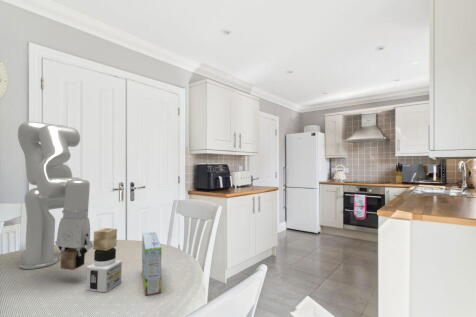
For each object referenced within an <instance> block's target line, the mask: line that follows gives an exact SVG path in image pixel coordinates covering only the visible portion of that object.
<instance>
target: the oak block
mask: <svg viewBox="0 0 476 317" xmlns="http://www.w3.org/2000/svg"><path fill="white" fill-rule="evenodd" d="M117 235H118V229H117V228H106V227H104V228H101V229H97V230H94V231H93V244H92V245H93V247H92V248H93V251H95V250H105V251H107V250H109V249H111V248H113V247H115V248H116V247H117V241H118V239H117V238H118V236H117Z"/></svg>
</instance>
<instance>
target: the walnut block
mask: <svg viewBox="0 0 476 317" xmlns="http://www.w3.org/2000/svg"><path fill="white" fill-rule="evenodd" d="M81 251H82V248H81ZM60 254H61V253H60ZM60 256H61V258H60V269H62V270H63V269H64V270H68V271H74V270H76V269H77V268H76V267H75V266H76V256H78V255H77V249H74V248H68V249H66V250H63V251H62V254H61V255H60ZM85 256H86V254H84V260H85ZM84 265H85V263H84V264H83V265H82V266H84Z"/></svg>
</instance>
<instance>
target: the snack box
mask: <svg viewBox="0 0 476 317" xmlns="http://www.w3.org/2000/svg"><path fill="white" fill-rule="evenodd" d="M141 238H142V241H141V242H142V245H141V246H142V248H141V249H142V250H141V251H142V254H141V264H142V266H141V267H142V268H141V269H142V280H143V281H142V282H143V290H144V296H150V295H151V296H152V295H156V294H161V293H162V245H161V243H160V241H159V237H158V235H157V233H156V231H150V232H142V237H141Z"/></svg>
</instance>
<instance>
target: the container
mask: <svg viewBox="0 0 476 317" xmlns="http://www.w3.org/2000/svg"><path fill="white" fill-rule="evenodd" d="M93 253H94V255H93V256H94V258H93V263H92V264H89V265H87V266H86V284H85V285H86V286H85V289H86V291H92V292H98V293H99V292H100V293H107V292H109V291H110V290H112V289H113V288H115V287H116V286H118V285H120V284H121V283H122V267H123V264H122V263H123V260H118V259H116V257H117V254H116V253H117V248H116V247H113V248H111V249H109V250H107V251H105V250H94V252H93Z"/></svg>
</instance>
